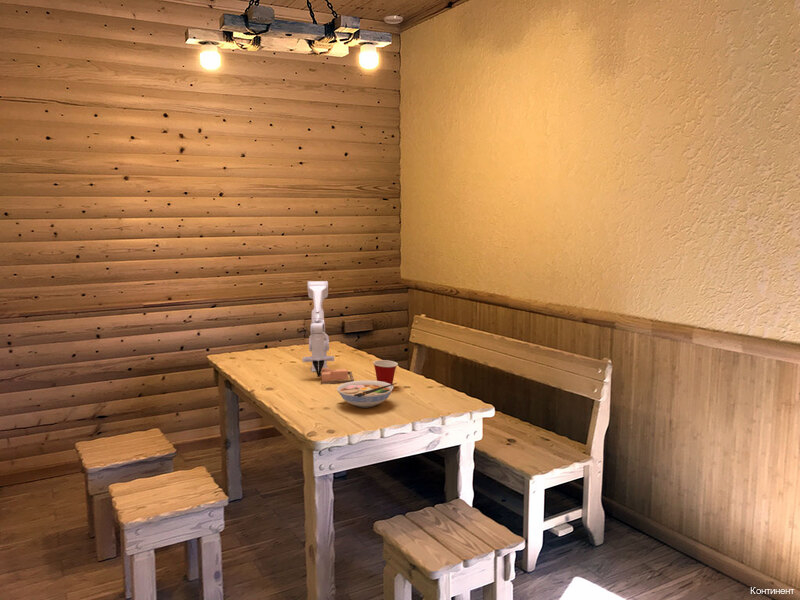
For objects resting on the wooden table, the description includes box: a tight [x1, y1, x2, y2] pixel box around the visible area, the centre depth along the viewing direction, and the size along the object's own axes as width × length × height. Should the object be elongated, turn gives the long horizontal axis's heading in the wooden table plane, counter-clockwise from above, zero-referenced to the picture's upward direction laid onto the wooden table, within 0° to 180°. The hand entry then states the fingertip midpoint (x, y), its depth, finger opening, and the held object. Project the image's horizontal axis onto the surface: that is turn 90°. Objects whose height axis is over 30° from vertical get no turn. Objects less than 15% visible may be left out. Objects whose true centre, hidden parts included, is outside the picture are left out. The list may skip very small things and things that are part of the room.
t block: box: [320, 367, 349, 381], centre depth 306 cm, size 12×12×4 cm
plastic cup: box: [372, 359, 399, 385], centre depth 288 cm, size 11×11×12 cm
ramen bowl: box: [336, 379, 398, 409], centre depth 264 cm, size 25×23×8 cm
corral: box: [320, 370, 355, 385], centre depth 307 cm, size 17×15×1 cm
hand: (318, 376), depth 305 cm, fingers closed
